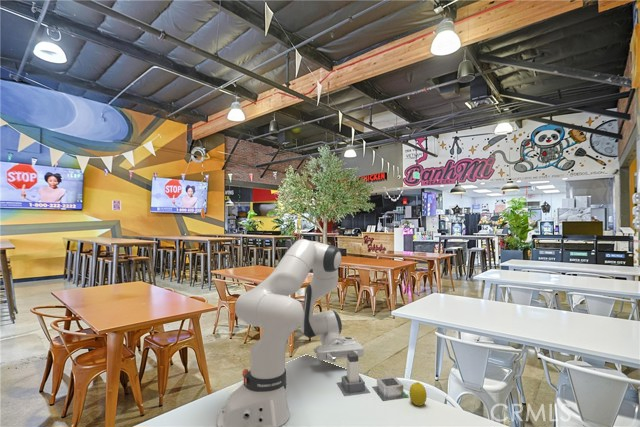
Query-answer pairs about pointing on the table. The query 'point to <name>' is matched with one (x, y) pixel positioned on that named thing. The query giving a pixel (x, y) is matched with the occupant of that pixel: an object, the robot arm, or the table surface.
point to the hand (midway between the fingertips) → (345, 359)
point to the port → (390, 389)
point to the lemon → (417, 394)
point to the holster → (352, 387)
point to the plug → (352, 368)
